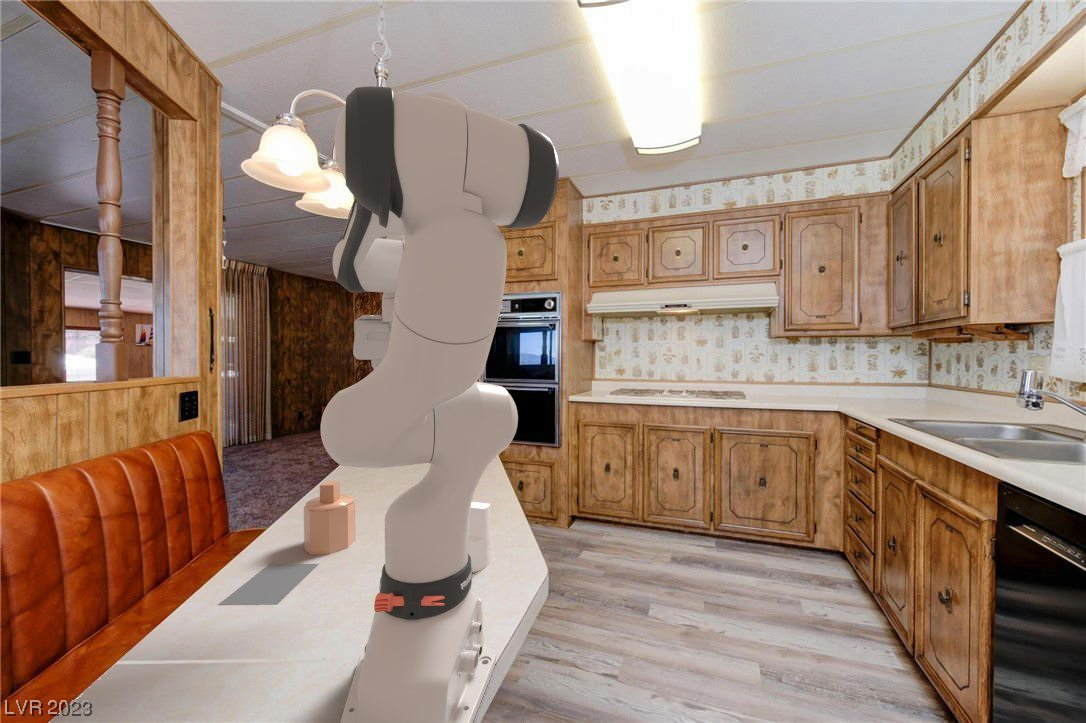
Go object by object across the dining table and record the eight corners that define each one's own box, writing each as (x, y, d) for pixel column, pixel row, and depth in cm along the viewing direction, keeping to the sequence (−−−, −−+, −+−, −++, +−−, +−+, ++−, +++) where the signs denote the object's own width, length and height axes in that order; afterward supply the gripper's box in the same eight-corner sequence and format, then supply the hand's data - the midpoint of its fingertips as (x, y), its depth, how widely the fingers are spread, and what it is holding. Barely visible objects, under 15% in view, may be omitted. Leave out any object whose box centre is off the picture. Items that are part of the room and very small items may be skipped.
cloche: (342, 555, 91) (341, 489, 90) (296, 556, 91) (296, 490, 90) (360, 536, 100) (360, 476, 100) (319, 536, 100) (319, 477, 100)
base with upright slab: (496, 555, 91) (496, 499, 91) (479, 576, 82) (479, 514, 82) (458, 549, 94) (458, 495, 93) (437, 569, 85) (437, 509, 85)
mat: (277, 606, 72) (277, 604, 72) (217, 607, 72) (217, 604, 72) (319, 565, 86) (319, 563, 86) (269, 566, 86) (269, 564, 86)
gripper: (347, 313, 85) (347, 383, 85) (450, 313, 85) (451, 383, 85) (360, 316, 91) (360, 381, 91) (456, 316, 91) (456, 381, 91)
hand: (405, 382), depth 88 cm, fingers open, 8 cm apart
